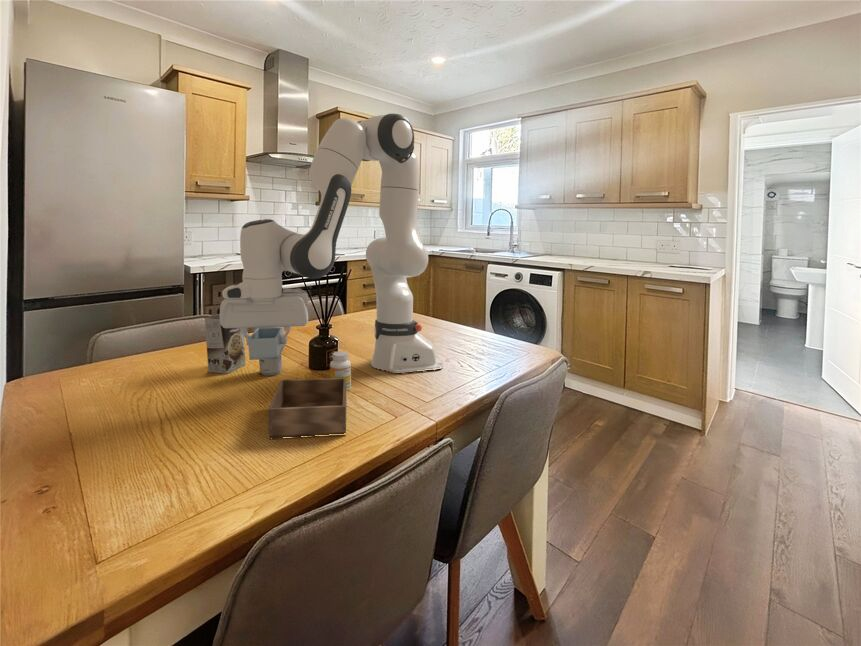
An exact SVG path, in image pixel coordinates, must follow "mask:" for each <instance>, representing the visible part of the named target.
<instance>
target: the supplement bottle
mask: <svg viewBox="0 0 861 646" xmlns="http://www.w3.org/2000/svg"><path fill="white" fill-rule="evenodd" d="M351 366H352V364H351V361H350V360H349V352H348V351H344V350H343V351H342V350H338V351H334V352H333V353H332V360H331V361H330V363H329V372H330V373H329V379H330V378H346V391H349V390H350V389H351V388H352V373H351V372H352V370H351V368H352V367H351Z"/></svg>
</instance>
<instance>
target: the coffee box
mask: <svg viewBox="0 0 861 646" xmlns="http://www.w3.org/2000/svg"><path fill="white" fill-rule="evenodd" d="M204 324H205V325H204V326H205V341H206V342H205V343H206V354H207V355H206V356H207V357H206V358H207V370H208V372H209V373H214V374H215V373H217V374H223V373H224V374H225V375H228V374H230V373H232V372H234V371H236V370H238V369H240V368H242V367H245V366H246V351H245V350H246V349H245V348H246V347H245V337H244V336H243V335H242V333H241V330H240V328H223V327H222V326H221V324H220V313H216V314H213V315H210V316H206V317H204Z"/></svg>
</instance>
